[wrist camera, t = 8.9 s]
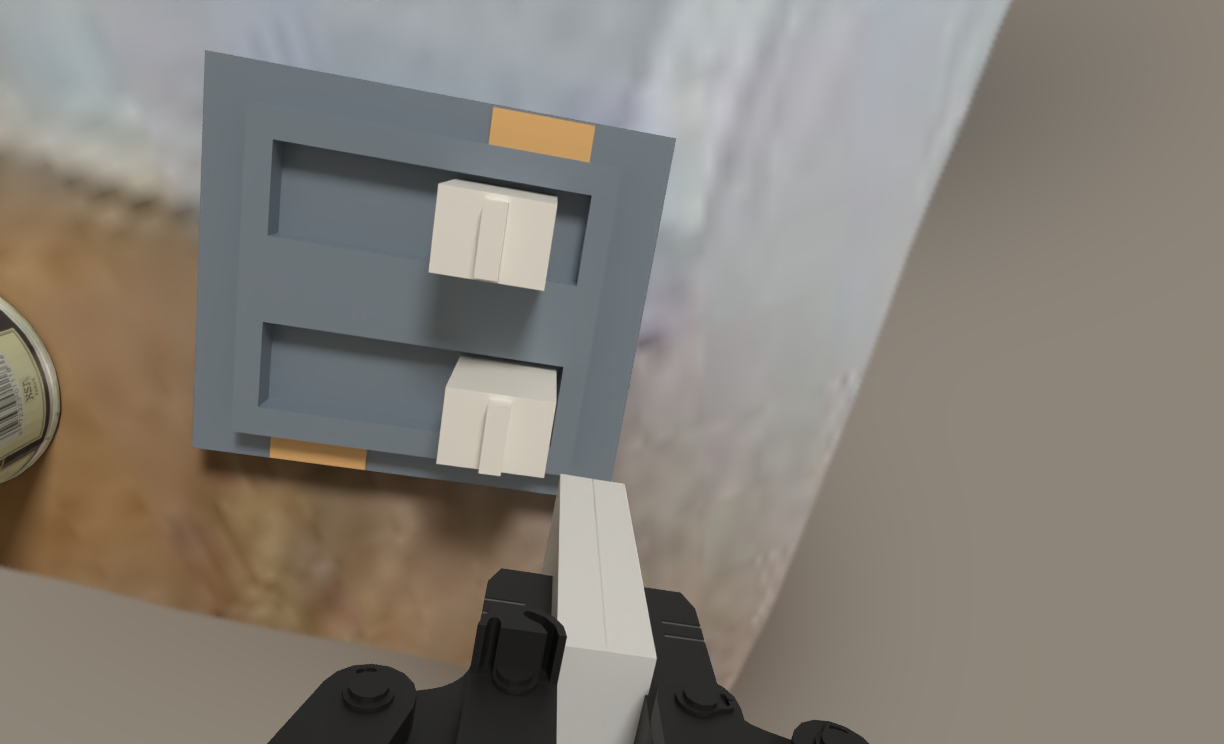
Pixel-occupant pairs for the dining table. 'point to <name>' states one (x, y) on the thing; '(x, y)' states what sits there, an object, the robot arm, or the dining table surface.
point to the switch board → (404, 270)
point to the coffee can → (24, 394)
